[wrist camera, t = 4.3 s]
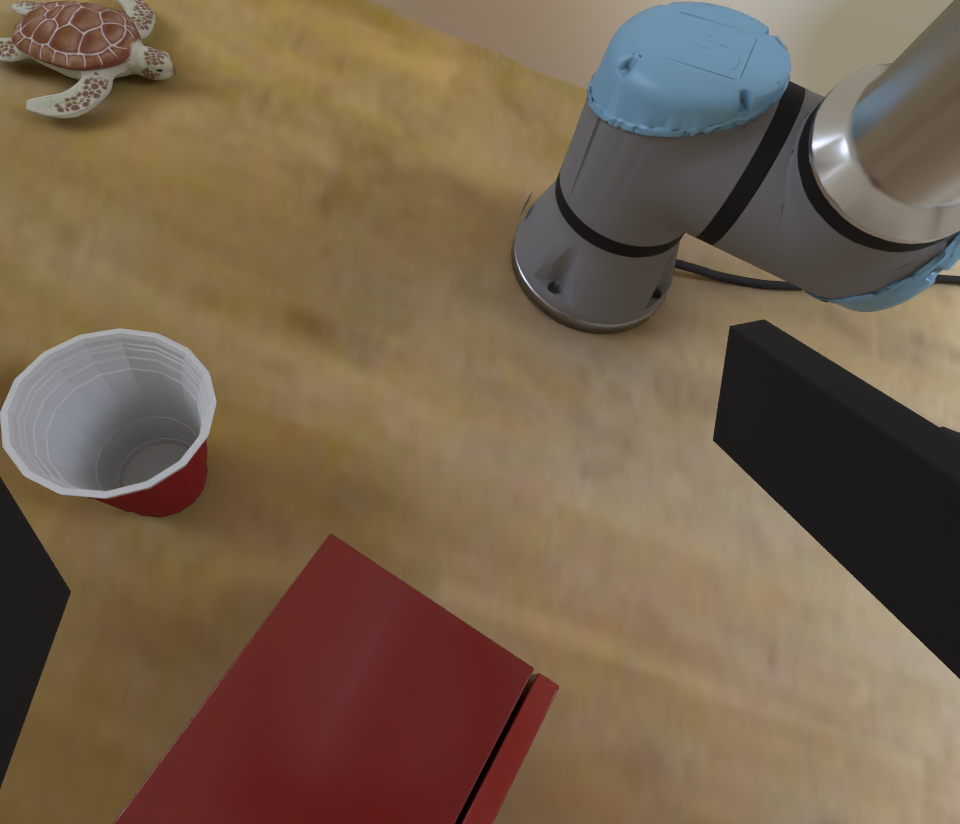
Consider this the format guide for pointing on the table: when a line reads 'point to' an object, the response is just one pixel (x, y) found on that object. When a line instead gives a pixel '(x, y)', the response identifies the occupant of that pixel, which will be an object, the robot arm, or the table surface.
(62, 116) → the decorative turtle
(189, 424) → the plastic cup
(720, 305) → the table surface
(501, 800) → the red cabinet door
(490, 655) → the cabinet
